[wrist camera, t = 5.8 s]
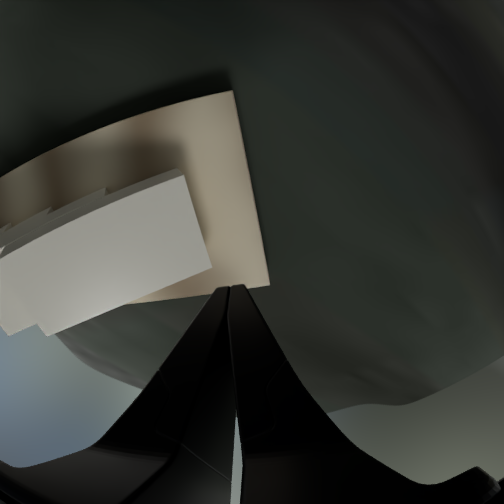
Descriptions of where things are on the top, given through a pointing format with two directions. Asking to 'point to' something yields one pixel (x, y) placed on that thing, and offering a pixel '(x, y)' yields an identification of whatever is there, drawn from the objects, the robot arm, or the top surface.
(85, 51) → the top surface
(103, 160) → the beige flat rectangular board
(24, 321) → the domino
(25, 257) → the domino
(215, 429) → the robot arm
